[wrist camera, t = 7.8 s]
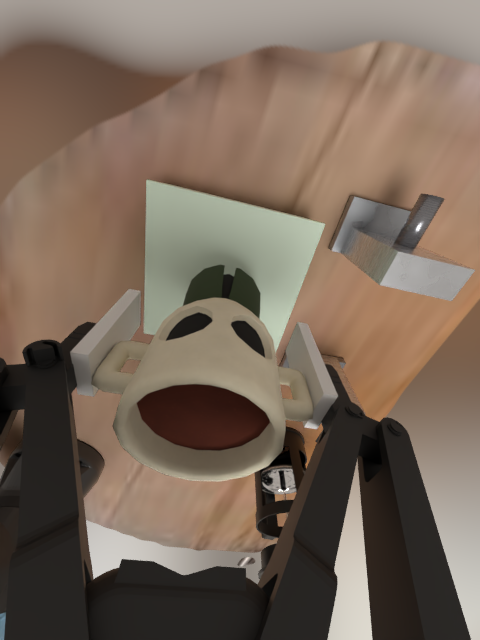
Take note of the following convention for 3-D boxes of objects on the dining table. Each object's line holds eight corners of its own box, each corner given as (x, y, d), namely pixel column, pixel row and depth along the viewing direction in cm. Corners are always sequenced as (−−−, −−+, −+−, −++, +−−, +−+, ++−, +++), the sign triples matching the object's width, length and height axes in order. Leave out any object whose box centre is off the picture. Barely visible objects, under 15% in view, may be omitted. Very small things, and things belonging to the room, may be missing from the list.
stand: (154, 314, 29) (143, 333, 26) (161, 178, 22) (146, 179, 19) (270, 335, 31) (274, 356, 28) (313, 216, 24) (325, 223, 20)
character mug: (298, 271, 20) (366, 402, 9) (273, 341, 23) (299, 495, 12) (162, 243, 19) (40, 349, 8) (159, 320, 22) (73, 467, 11)
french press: (268, 417, 40) (295, 657, 20) (316, 432, 42) (383, 662, 22) (238, 454, 45) (237, 669, 26) (282, 465, 48) (312, 672, 28)
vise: (275, 375, 35) (286, 433, 27) (356, 180, 22) (418, 186, 14) (328, 383, 36) (352, 442, 28) (434, 201, 23) (531, 217, 15)
